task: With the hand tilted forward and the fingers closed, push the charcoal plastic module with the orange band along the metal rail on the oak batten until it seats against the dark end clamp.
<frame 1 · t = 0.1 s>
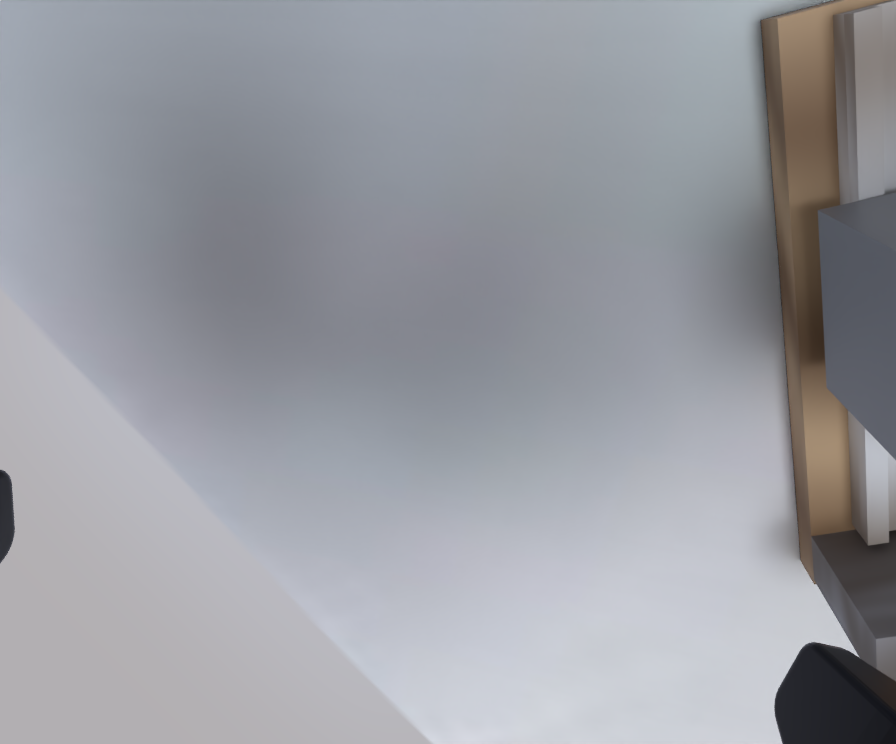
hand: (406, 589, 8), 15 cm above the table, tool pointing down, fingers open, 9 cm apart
rail mount: (889, 311, 21), on the table
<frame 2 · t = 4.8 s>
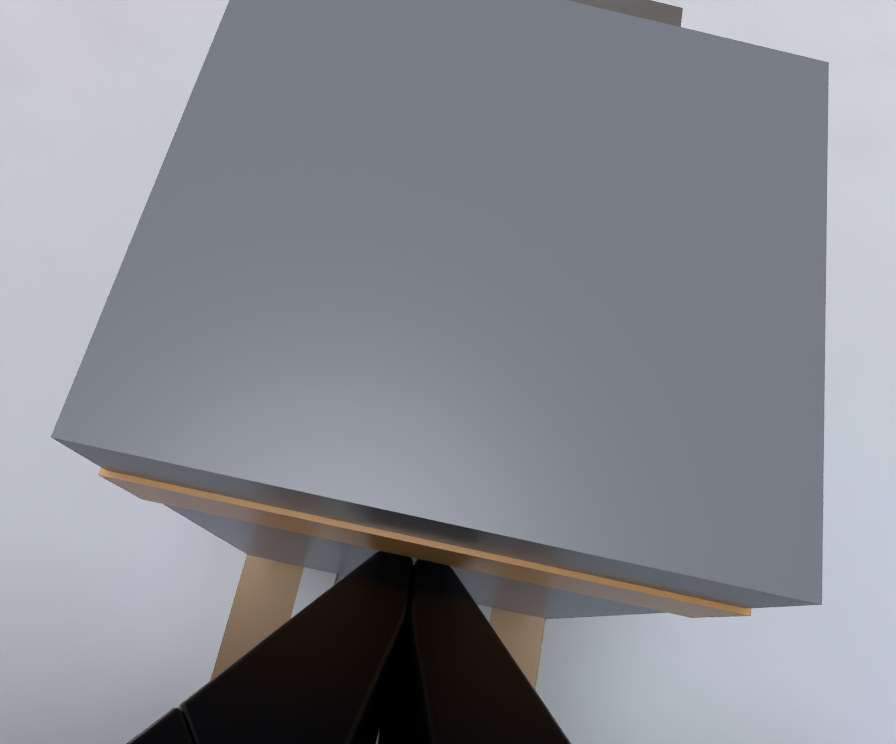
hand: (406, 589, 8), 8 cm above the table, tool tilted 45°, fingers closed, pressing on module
module: (449, 384, 10), point 7 cm above the table, slide at 1.2 cm, touching gripper
rail mount: (423, 456, 16), on the table
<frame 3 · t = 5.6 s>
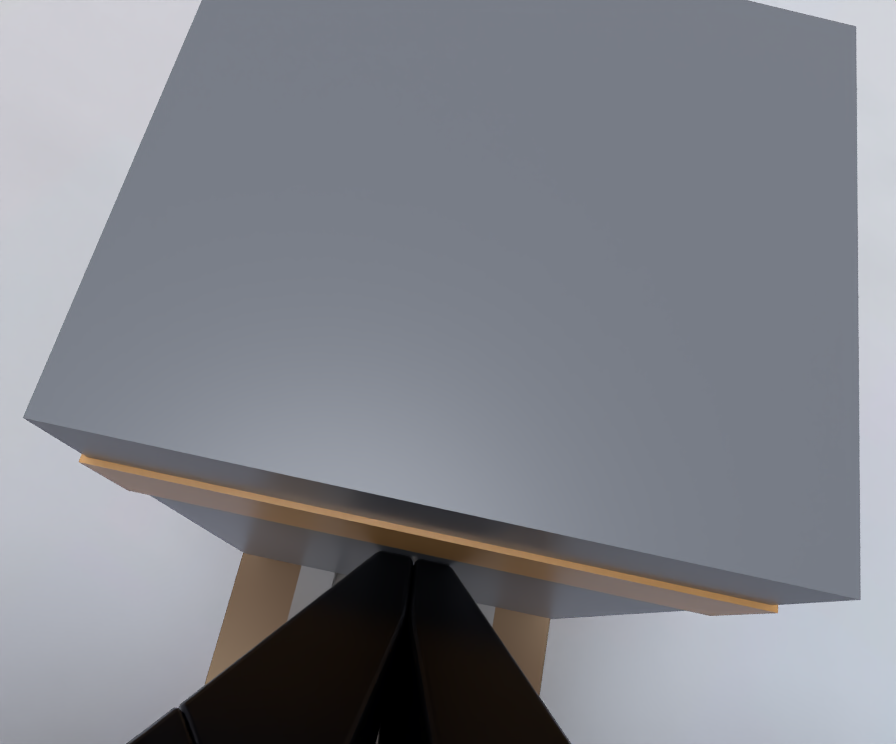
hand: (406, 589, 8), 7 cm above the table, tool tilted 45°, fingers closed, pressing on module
module: (452, 374, 9), point 7 cm above the table, slide at 5.7 cm, touching gripper
rail mount: (378, 666, 14), on the table
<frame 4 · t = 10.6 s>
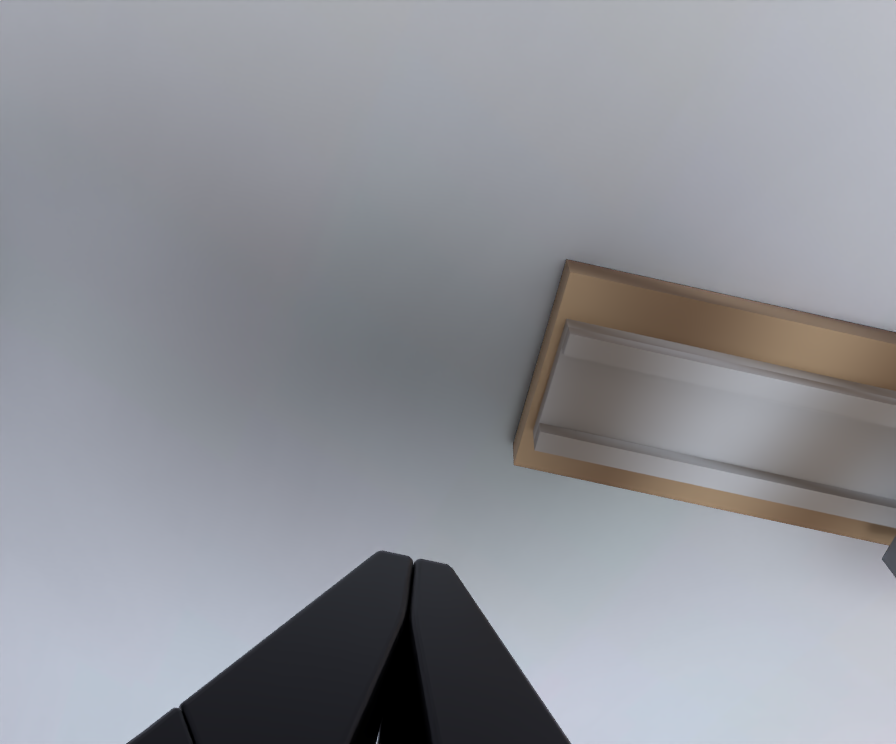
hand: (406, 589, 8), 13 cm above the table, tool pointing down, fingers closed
rail mount: (828, 420, 21), on the table
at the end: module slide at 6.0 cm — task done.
